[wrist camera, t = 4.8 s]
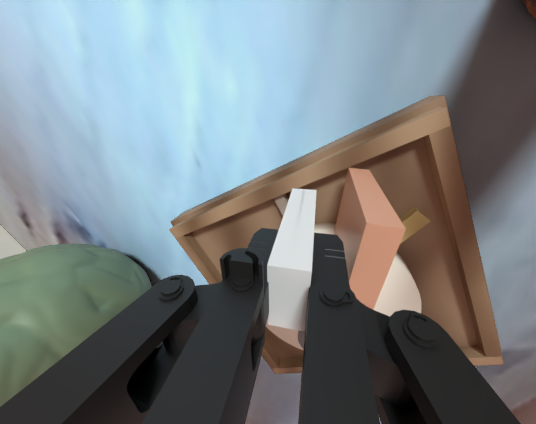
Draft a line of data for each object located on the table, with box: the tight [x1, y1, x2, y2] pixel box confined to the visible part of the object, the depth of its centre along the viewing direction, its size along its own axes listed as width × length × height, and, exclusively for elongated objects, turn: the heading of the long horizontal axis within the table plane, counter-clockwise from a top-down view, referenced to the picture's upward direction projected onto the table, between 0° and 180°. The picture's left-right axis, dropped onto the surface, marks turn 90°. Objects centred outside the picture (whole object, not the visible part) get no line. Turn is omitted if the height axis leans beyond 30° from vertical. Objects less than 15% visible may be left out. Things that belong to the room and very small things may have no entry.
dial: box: [266, 168, 421, 350], centre depth 15 cm, size 18×13×8 cm
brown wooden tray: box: [169, 96, 504, 374], centre depth 20 cm, size 22×22×3 cm
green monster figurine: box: [0, 244, 152, 407], centre depth 20 cm, size 16×19×20 cm
